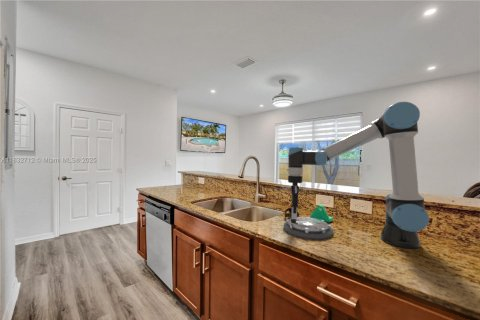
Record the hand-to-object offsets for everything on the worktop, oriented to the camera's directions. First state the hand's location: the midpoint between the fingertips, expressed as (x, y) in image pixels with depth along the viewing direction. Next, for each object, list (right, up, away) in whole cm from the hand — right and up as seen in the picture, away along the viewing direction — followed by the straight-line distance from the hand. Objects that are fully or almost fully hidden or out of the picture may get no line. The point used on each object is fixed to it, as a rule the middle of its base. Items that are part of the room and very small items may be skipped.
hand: (294, 218), depth 111 cm
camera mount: (+24, -8, +22) cm, 33 cm away
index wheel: (+8, -5, +3) cm, 10 cm away
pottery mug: (+5, -7, +26) cm, 27 cm away
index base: (+8, -7, +3) cm, 11 cm away
